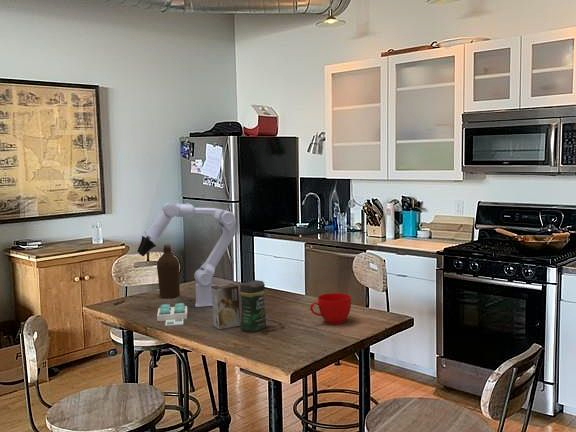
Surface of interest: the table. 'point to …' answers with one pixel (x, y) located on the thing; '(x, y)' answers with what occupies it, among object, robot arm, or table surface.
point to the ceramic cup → (333, 307)
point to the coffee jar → (253, 306)
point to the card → (174, 322)
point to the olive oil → (168, 274)
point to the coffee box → (226, 306)
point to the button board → (172, 315)
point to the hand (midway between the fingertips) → (140, 253)
